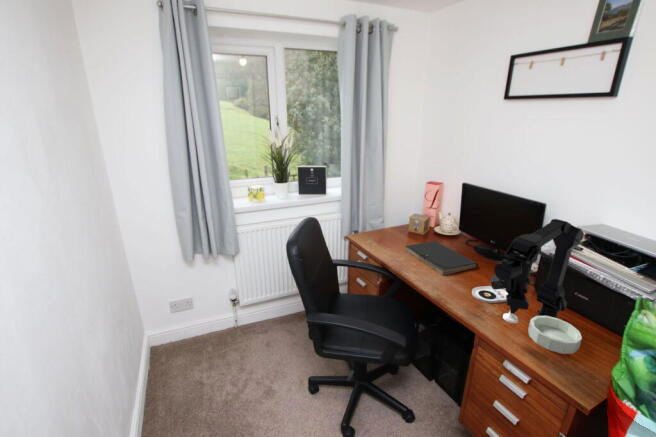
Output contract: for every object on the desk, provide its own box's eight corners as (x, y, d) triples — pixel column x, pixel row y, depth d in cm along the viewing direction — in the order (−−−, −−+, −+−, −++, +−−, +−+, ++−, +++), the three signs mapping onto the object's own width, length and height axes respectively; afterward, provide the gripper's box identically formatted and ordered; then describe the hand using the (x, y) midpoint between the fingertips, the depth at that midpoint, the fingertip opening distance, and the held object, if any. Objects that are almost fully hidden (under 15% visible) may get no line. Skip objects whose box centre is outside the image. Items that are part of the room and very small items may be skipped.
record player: (524, 294, 137) (482, 298, 135) (523, 300, 138) (481, 305, 136) (506, 281, 148) (467, 285, 146) (505, 287, 149) (466, 290, 147)
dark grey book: (404, 245, 187) (436, 240, 196) (404, 251, 189) (436, 246, 197) (442, 269, 158) (478, 261, 167) (441, 276, 160) (477, 268, 168)
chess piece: (512, 314, 115) (517, 291, 111) (521, 322, 110) (526, 298, 107) (499, 314, 115) (504, 291, 111) (507, 323, 110) (512, 299, 107)
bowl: (527, 321, 124) (529, 311, 122) (573, 332, 117) (576, 322, 116) (530, 344, 111) (532, 334, 110) (582, 359, 105) (585, 348, 103)
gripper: (494, 257, 118) (487, 293, 123) (493, 279, 102) (486, 319, 107) (528, 263, 113) (520, 300, 118) (533, 287, 97) (523, 329, 102)
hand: (511, 311), depth 111 cm, fingers closed on chess piece
